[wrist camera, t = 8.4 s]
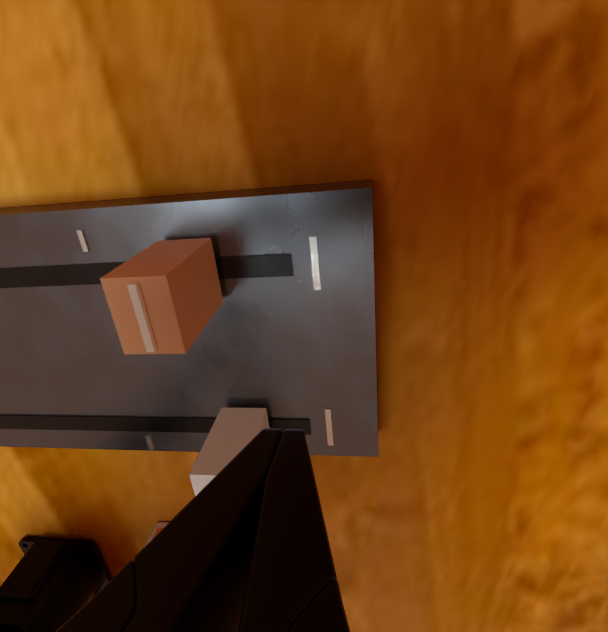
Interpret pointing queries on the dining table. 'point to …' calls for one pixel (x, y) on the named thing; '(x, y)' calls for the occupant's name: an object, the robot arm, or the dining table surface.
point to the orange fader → (164, 296)
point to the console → (216, 338)
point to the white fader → (226, 442)
